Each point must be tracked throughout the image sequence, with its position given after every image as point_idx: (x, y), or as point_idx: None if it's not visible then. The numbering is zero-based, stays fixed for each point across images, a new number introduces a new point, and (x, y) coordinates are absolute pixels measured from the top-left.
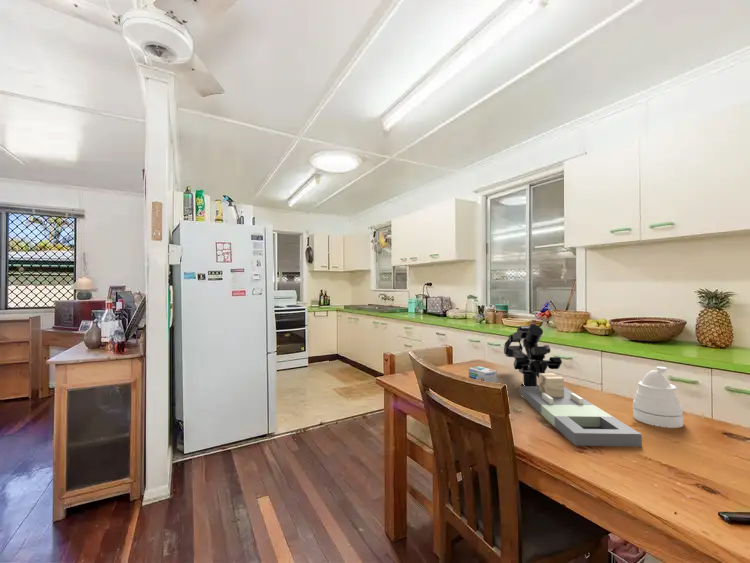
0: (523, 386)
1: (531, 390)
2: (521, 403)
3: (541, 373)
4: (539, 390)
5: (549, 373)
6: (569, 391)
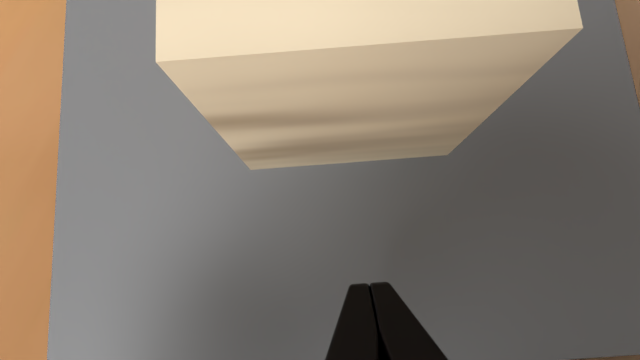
0: (634, 353)
1: (552, 152)
2: (627, 40)
3: (513, 22)
4: (446, 163)
5: (292, 39)
6: (85, 150)
